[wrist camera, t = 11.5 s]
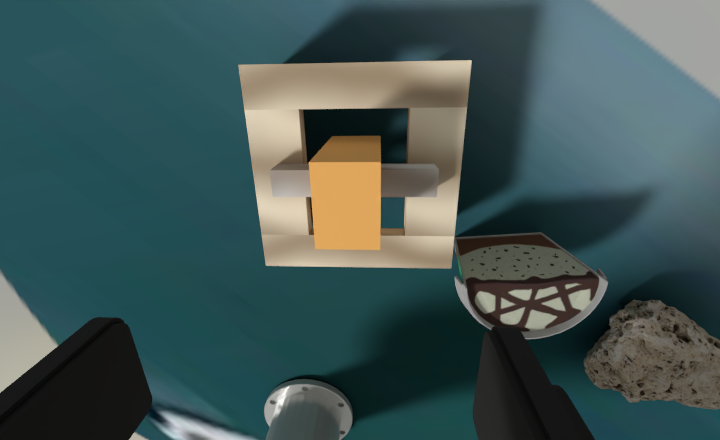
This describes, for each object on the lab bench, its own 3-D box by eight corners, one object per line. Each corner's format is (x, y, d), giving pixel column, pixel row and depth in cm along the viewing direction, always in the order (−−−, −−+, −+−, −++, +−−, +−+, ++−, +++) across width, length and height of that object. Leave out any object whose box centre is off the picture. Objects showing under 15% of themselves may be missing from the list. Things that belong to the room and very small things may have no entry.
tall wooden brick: (380, 198, 30) (380, 250, 20) (335, 197, 30) (315, 249, 21) (380, 135, 28) (380, 162, 18) (332, 136, 28) (308, 162, 19)
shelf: (435, 226, 37) (456, 281, 27) (291, 225, 38) (258, 278, 28) (447, 66, 31) (479, 58, 21) (275, 69, 32) (226, 63, 22)
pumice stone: (720, 315, 39) (800, 369, 32) (651, 384, 44) (707, 446, 36) (617, 275, 38) (674, 322, 31) (556, 350, 42) (594, 407, 35)
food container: (440, 285, 40) (458, 346, 30) (439, 238, 37) (459, 289, 28) (548, 280, 39) (602, 341, 29) (555, 231, 36) (615, 281, 27)
